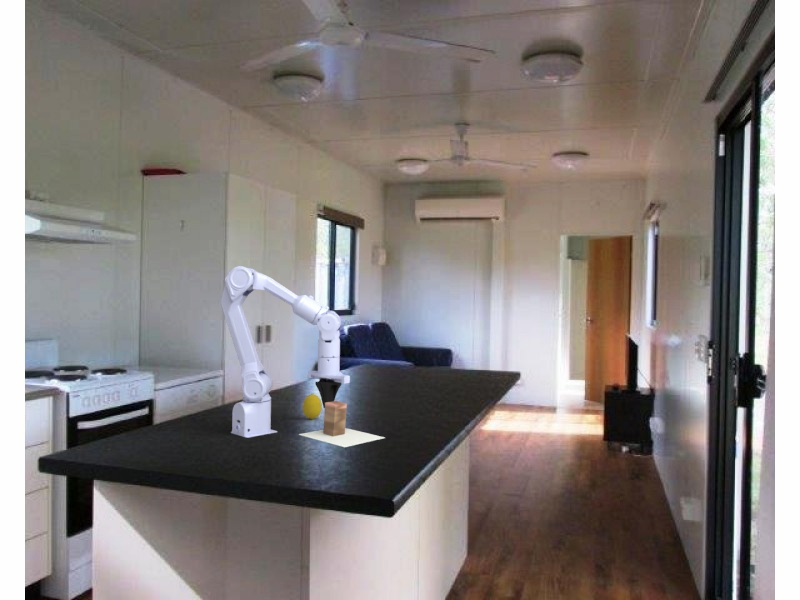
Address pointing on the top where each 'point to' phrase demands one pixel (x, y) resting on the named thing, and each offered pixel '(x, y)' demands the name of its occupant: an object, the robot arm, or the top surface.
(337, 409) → the walnut block
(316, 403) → the lemon
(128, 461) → the top surface
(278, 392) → the top surface
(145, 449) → the top surface
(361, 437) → the mat
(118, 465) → the top surface
